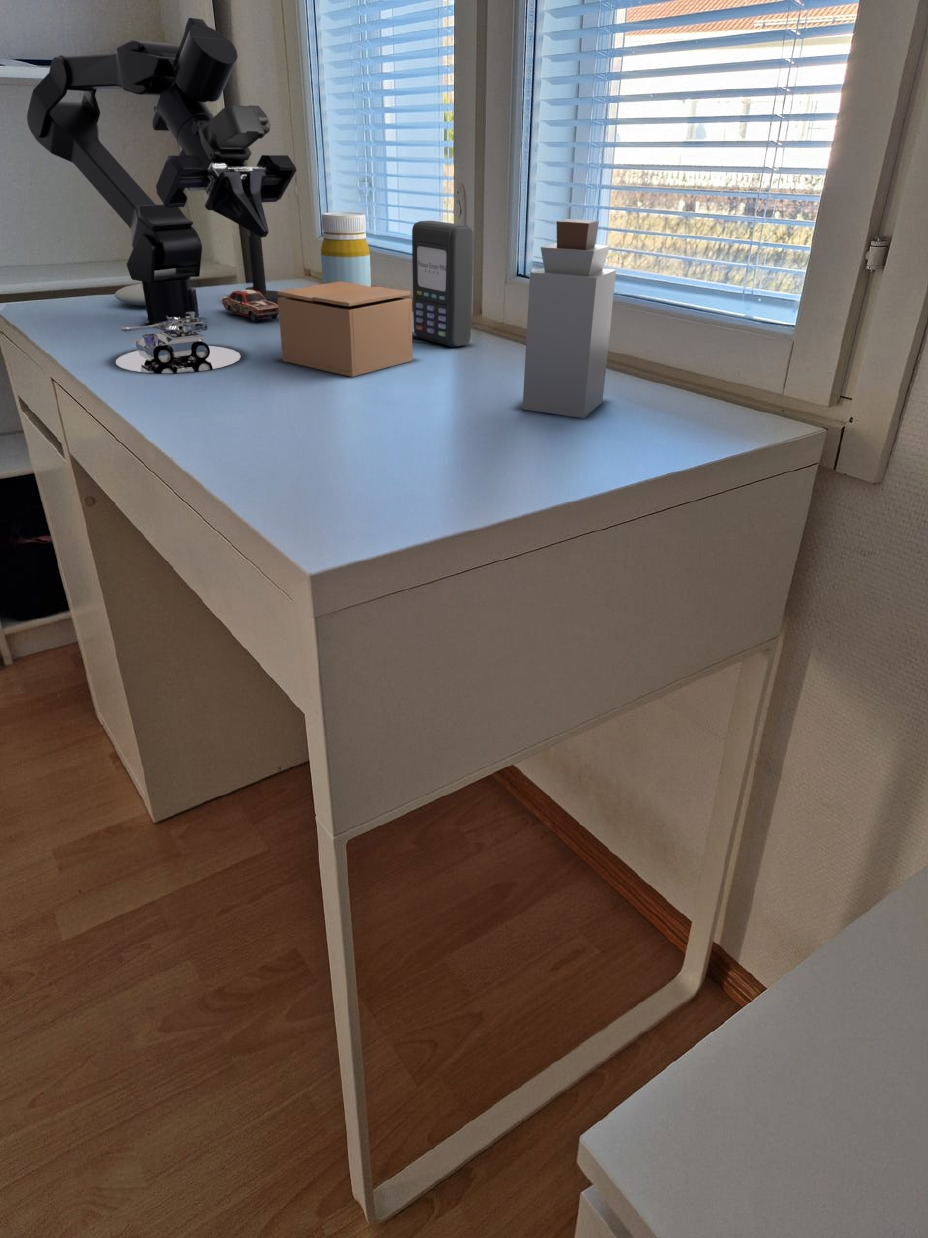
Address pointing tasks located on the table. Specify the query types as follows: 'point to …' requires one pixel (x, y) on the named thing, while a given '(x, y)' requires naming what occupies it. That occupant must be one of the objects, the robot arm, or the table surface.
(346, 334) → the carton
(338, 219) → the bottle
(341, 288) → the lid flap
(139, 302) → the cushion
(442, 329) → the card reader
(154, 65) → the robot arm
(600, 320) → the perfume bottle
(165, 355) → the toy car
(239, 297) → the race car
